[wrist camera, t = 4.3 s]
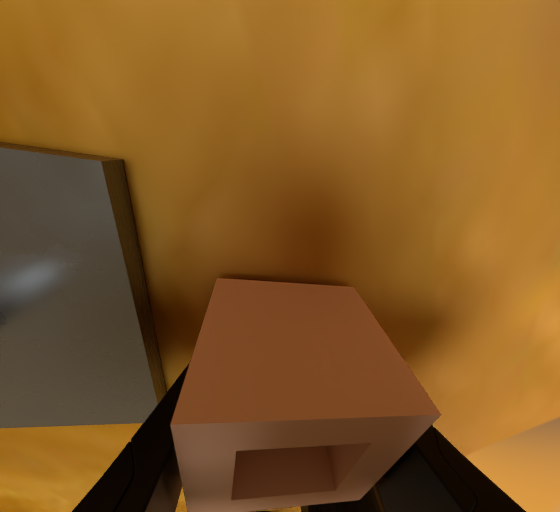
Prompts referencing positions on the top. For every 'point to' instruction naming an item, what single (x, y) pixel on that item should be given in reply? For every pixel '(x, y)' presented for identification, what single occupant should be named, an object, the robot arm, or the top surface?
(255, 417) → the socket block
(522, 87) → the top surface
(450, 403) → the top surface
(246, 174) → the top surface
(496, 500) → the robot arm
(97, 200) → the pin plate
